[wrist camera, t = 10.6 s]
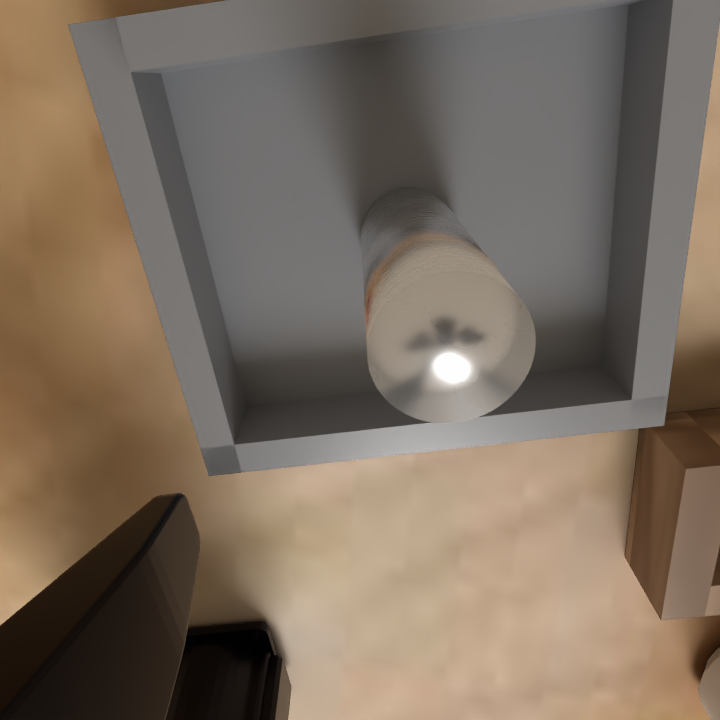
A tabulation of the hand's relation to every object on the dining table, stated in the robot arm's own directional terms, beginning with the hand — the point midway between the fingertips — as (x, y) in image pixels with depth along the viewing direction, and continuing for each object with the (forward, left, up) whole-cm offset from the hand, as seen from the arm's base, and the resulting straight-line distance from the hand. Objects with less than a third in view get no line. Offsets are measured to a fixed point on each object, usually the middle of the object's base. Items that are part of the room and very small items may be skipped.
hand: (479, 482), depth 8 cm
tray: (0, +1, -13) cm, 13 cm away
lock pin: (0, +1, -12) cm, 12 cm away
